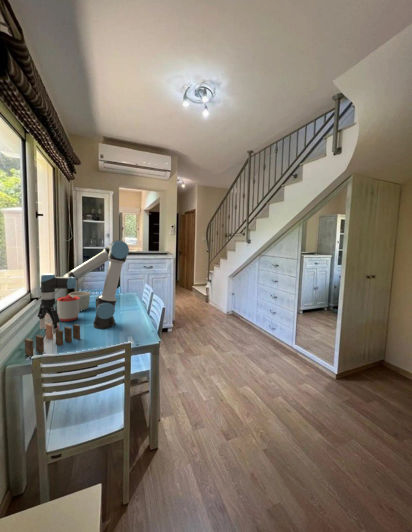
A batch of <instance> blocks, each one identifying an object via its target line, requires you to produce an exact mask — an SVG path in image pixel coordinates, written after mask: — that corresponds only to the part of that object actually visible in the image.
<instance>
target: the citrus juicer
mask: <svg viewBox="0 0 412 532" xmlns="http://www.w3.org/2000/svg"><path fill="white" fill-rule="evenodd" d="M56 301H57V302H56V303H57V304H56V305H57V306H56V308H57V313H59V320H60V321H61V322H74V321H76V320H77V319H78V317H79V314H80V311H79V297H77V296H74V297H73V298H72V297H71V296H70V295H68V294H67V295H66V296H61V297H58V298H56ZM73 320H74V321H73Z"/></svg>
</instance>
